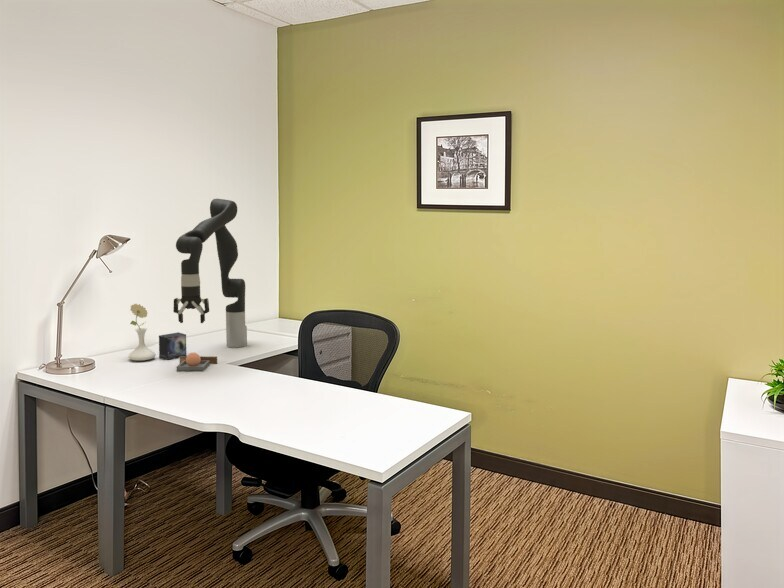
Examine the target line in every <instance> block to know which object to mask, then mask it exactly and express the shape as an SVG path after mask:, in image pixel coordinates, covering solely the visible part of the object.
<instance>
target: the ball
mask: <svg viewBox="0 0 784 588" xmlns="http://www.w3.org/2000/svg"><path fill="white" fill-rule="evenodd" d="M186 355H187V357H186V363H187V365H189V366H197V365H199V363H200V361H201V358H200V356H201V355H199V354H198V353H197V352H190V353H188V354H186Z"/></svg>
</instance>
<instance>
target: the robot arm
mask: <svg viewBox="0 0 784 588" xmlns="http://www.w3.org/2000/svg"><path fill="white" fill-rule="evenodd" d="M209 213H210V217H208V218H207V219H204V220H202V221H200V222H199V223H198V224H197V225H196V226H195V227H194V228H193V229H192V230H189V231H187V232H184V233H183V234H182V235H181V236H179V237H178V238H177V240H176V242H175V249H176V250H177V252H178V253H181V254H184V255H185V254H187V255H189V254H190V256H189V257H188V259H187V258H186V259H183V260H182V261H181V263H180V272H181V276H180V288H181V289H180V290H181V291H180V292H181V298H178V297H176V298H174V299H173V313H174V314H177V316H178V318H177V319H178V322H179V323H180V324H183V323H184V314H183V313H184V311H185V310H186V309H187V310H189V309H191V310H197V311H198V312H199V313H200V316H199V317H200V319H199V320H200V324H204V322H205V321H206V314H208V313H209V312H210V303H209V298H207V297H206V298H202V297H201V277H200V260H201V256H202V252H203V247H204V245H203V244H204V243H205V242H206V241H208V239H209V238H210V237H211V236H212V235H213V234H214V235H215V236H214V237H215V242H216V252H217V257H218V261H219V268H220V280H221V282H220V283H221V292H222V295H223V297H225V298H237V300H236V301H235V302H233V303H229V304H227V305H225V333H226V347H228V348H242V347H243V348H244V347H245V346H246V345H248V331H247V330H248V327H247V325H246V282H245V279H244V278H230V277H229V276H230V275H229V274H230V273H231V271H232V268H233V267H234V266H235V263H236V262H237V261H238V258H239V249H238V243H237V240H236V239H235V238H234V236H233V235H232V233H231V232H230V231H229V230H228V228H227V226H226V225H228V224H229V223H230V222H231V221H232V222H233V220H234V219H235V218H236V216H237V214H238V205H237V203H236V202H235V201H233V200H231V199H230V200H229V199H223V198H222V199H221V198H213V199H212V200H211V201H210V205H209ZM180 303H181V304H182V306H181V307H180V309H179V304H180ZM201 303H202V304H203V305H204V308H203V307H202V306H201Z"/></svg>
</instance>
